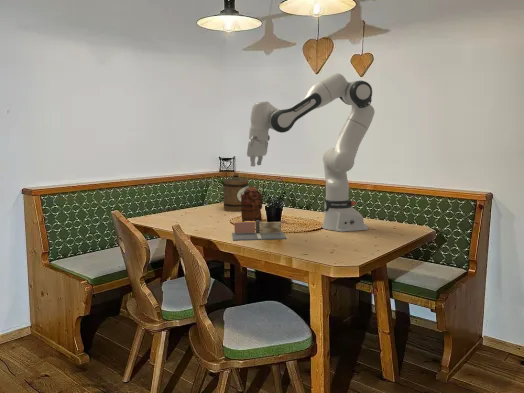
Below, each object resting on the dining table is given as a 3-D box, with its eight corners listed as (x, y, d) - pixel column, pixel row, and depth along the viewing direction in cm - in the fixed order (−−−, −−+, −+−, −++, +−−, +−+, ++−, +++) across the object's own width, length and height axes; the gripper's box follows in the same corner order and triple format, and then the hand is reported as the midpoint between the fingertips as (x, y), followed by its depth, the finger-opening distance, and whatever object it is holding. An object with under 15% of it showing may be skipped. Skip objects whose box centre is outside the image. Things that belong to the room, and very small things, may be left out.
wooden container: (244, 212, 278) (244, 174, 274) (220, 211, 281) (219, 174, 278) (251, 207, 292) (251, 172, 289) (228, 206, 295) (227, 171, 292)
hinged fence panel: (254, 232, 224) (254, 221, 223) (255, 232, 223) (255, 222, 222) (234, 232, 223) (234, 222, 222) (234, 233, 222) (234, 222, 221)
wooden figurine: (248, 223, 248) (248, 188, 245) (240, 221, 252) (239, 187, 249) (264, 219, 256) (264, 186, 253) (256, 218, 260) (256, 185, 257)
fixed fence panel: (280, 232, 225) (280, 219, 224) (281, 232, 224) (281, 220, 223) (255, 232, 224) (255, 220, 223) (256, 233, 222) (255, 221, 221)
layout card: (282, 232, 227) (282, 231, 227) (286, 239, 214) (286, 237, 214) (231, 233, 224) (231, 232, 224) (233, 240, 211) (233, 239, 211)
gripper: (258, 137, 212) (255, 167, 215) (270, 136, 232) (268, 165, 234) (245, 135, 214) (242, 166, 216) (258, 135, 234) (256, 163, 236)
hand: (255, 165), depth 225 cm, fingers open, 8 cm apart
